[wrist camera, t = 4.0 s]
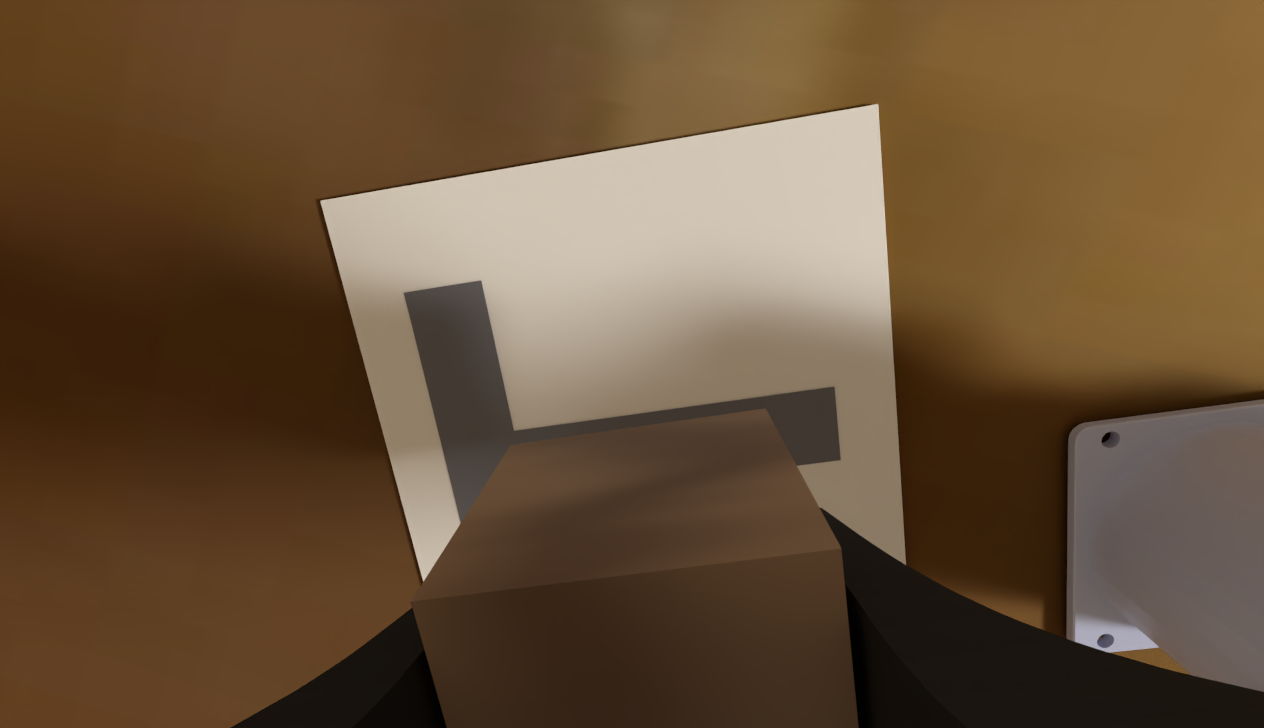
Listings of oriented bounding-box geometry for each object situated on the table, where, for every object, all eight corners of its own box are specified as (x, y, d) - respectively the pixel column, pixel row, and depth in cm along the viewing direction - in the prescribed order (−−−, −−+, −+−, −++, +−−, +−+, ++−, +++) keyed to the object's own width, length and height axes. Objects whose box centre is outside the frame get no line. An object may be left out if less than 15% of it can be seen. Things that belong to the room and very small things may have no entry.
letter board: (875, 105, 17) (878, 103, 17) (909, 660, 21) (912, 665, 21) (323, 201, 18) (319, 201, 18) (460, 706, 22) (457, 711, 22)
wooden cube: (765, 408, 12) (841, 548, 7) (793, 633, 13) (873, 890, 8) (510, 444, 12) (410, 602, 7) (559, 660, 13) (501, 920, 8)
